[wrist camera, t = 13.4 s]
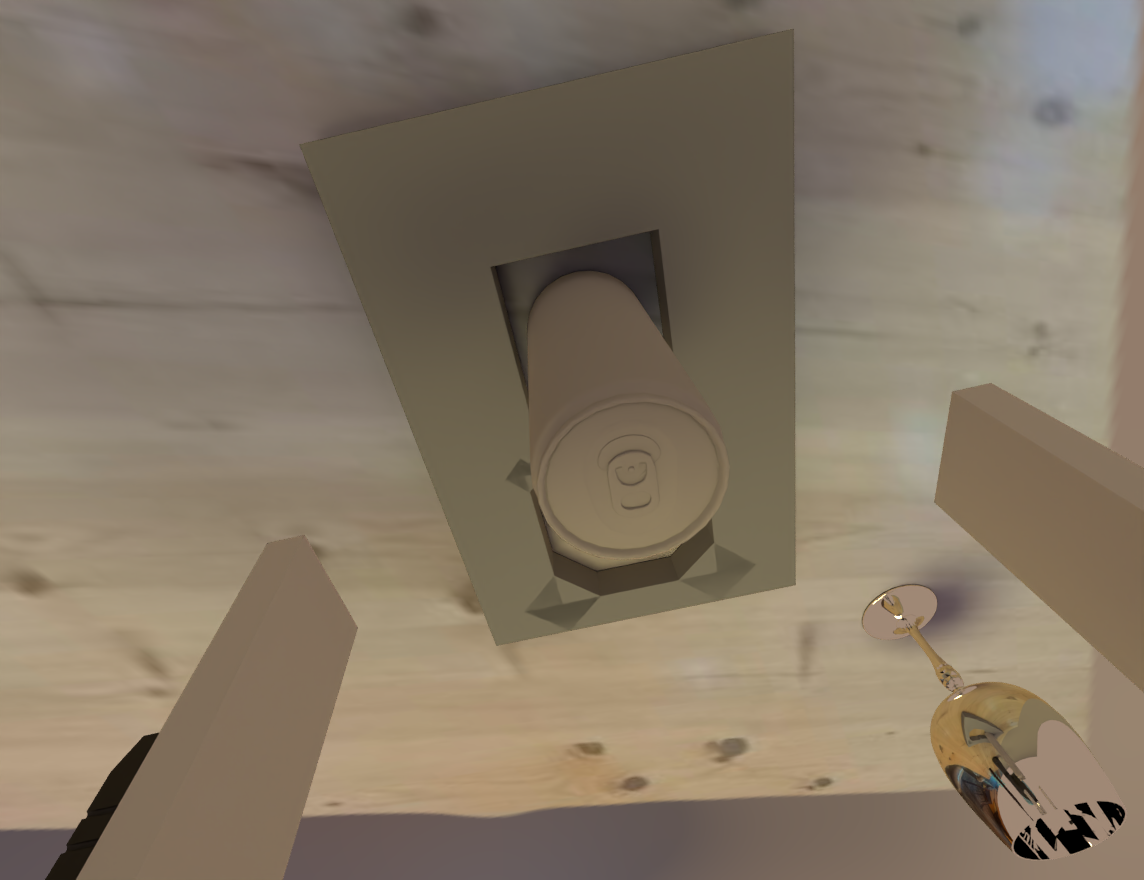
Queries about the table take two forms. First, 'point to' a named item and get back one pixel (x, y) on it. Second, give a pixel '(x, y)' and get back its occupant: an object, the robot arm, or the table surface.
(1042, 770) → the wineglass
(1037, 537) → the robot arm
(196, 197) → the table surface
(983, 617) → the table surface
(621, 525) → the beverage can
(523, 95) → the flat rectangular frame
